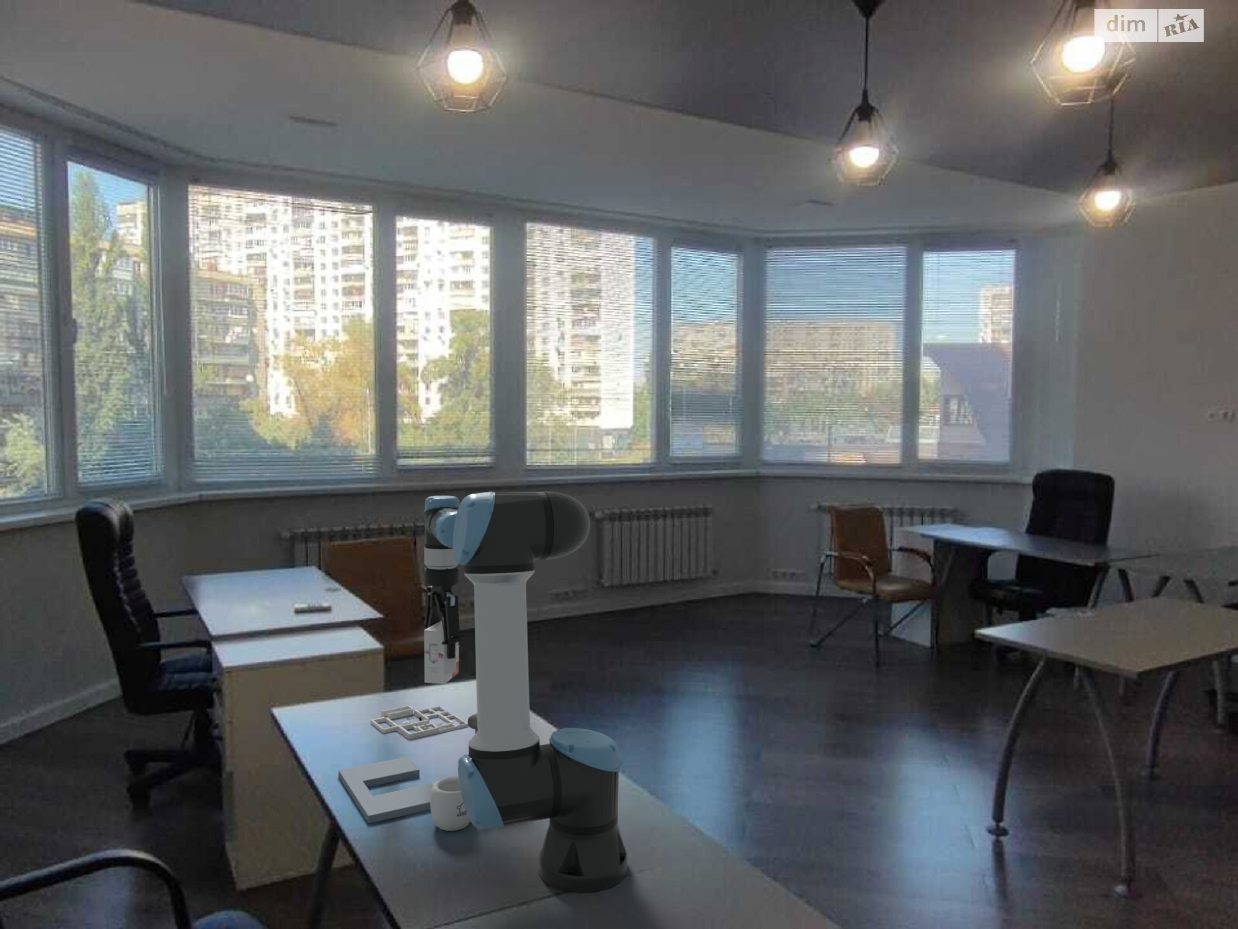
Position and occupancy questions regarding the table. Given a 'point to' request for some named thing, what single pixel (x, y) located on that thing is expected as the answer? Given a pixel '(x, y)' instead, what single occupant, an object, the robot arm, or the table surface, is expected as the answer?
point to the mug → (448, 805)
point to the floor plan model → (419, 725)
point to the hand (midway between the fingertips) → (441, 666)
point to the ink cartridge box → (436, 655)
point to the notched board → (389, 802)
